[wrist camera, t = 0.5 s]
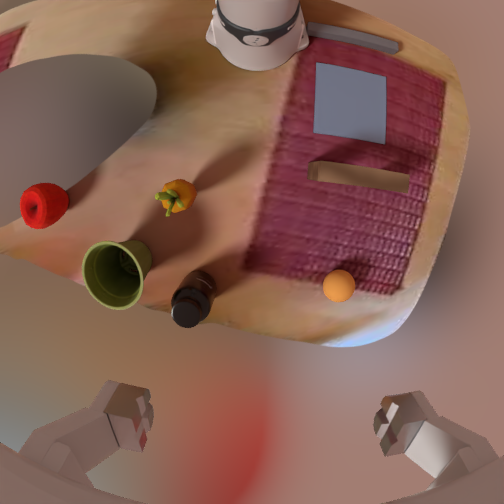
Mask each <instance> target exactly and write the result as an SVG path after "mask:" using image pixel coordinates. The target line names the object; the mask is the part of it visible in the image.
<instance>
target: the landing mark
mask: <svg viewBox="0 0 504 504" xmlns="http://www.w3.org/2000/svg"><path fill="white" fill-rule="evenodd" d="M313 133H319V134H327V135H334V136H340V137H347V138H353V139H359V140H364V141H370V142H375V143H380V144H385V136H386V77H384V76H380V75H376V74H372V73H368V72H364V71H359V70H355V69H350V68H345V67H340V66H335V65H329V64H323V63H317V62H316V88H315V112H314V130H313Z"/></svg>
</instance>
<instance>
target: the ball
mask: <svg viewBox="0 0 504 504" xmlns="http://www.w3.org/2000/svg"><path fill="white" fill-rule="evenodd" d="M323 290H324V293H325V295H326V296H327V297H328V298H329V299H330V300H332V301H334V302H343V301H346V300H348V299H349V298H350V297H351V296H352V294H353V292H354V290H355V282H354V279H353V277H352V276H351V274H349V273H348V272H347V271H344V270H334V271H332V272H330V273H329V274H328V275H327V276H326V278H325V280H324V283H323Z"/></svg>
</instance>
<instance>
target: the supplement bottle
mask: <svg viewBox="0 0 504 504" xmlns="http://www.w3.org/2000/svg"><path fill="white" fill-rule="evenodd" d="M216 290H217V288H216V283H215V281H214V280H213V278H212V277H211V276H210V275H208V274H207V273H205V272H201V271H195V272H191V273H189V274H188V275H187V276H186V277H185V278H184V279H183V281H182V282H181V284H180V285H179V287H178V288H177V290H176V291H175V293H174V294H173V297H172V300H171V305H172V312H171V313H172V318H173V320H174V321H175V322H176V323H177V324H178V325H179V326H182V327H185V328H191V327H194V326H196V325H197V324H198V323H199V322H201V321H203V320H204V319H205V318H206V317H207V316H208V314H209V312H210V310H211V307H212V304H213V301H214V298H215V295H216Z"/></svg>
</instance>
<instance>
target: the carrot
mask: <svg viewBox="0 0 504 504" xmlns="http://www.w3.org/2000/svg"><path fill="white" fill-rule="evenodd" d="M196 195H197V193H196V190H195V186H194V185H193V184H191V183H189V182H187V181H185V180H183V179H177V180H174V181H172V182H169V183H166V184H165V185H164V188H163V190H162V192H159V193H157V194H156V195H155V199H156V200H161V201H162V204H163V207H164V208H166V209H168V210H167V212H166V216H167V217H168V216H170V214H171V211H172V212H174V213H177V212H180V211H183V210H186V209H188V208H189V207H190V206H191V205H192V204H193V202H194V200H195V198H196Z"/></svg>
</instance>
